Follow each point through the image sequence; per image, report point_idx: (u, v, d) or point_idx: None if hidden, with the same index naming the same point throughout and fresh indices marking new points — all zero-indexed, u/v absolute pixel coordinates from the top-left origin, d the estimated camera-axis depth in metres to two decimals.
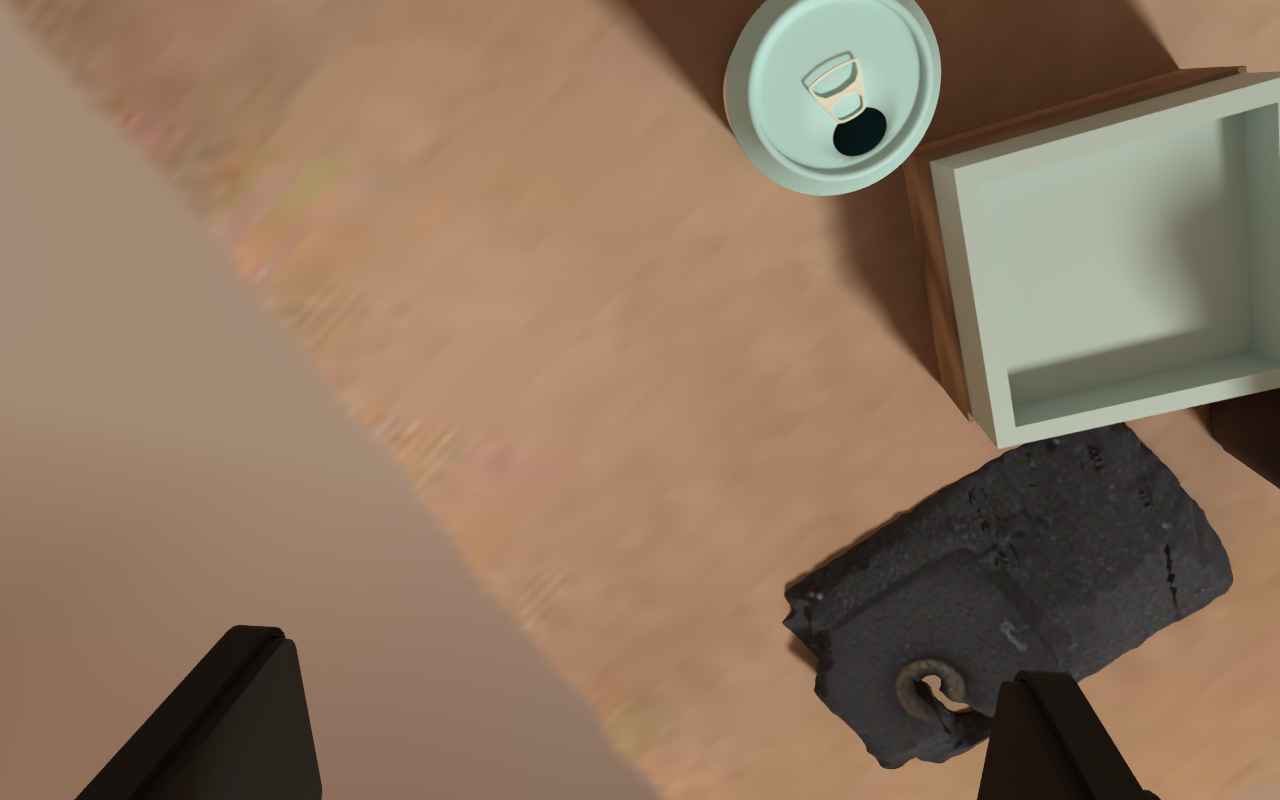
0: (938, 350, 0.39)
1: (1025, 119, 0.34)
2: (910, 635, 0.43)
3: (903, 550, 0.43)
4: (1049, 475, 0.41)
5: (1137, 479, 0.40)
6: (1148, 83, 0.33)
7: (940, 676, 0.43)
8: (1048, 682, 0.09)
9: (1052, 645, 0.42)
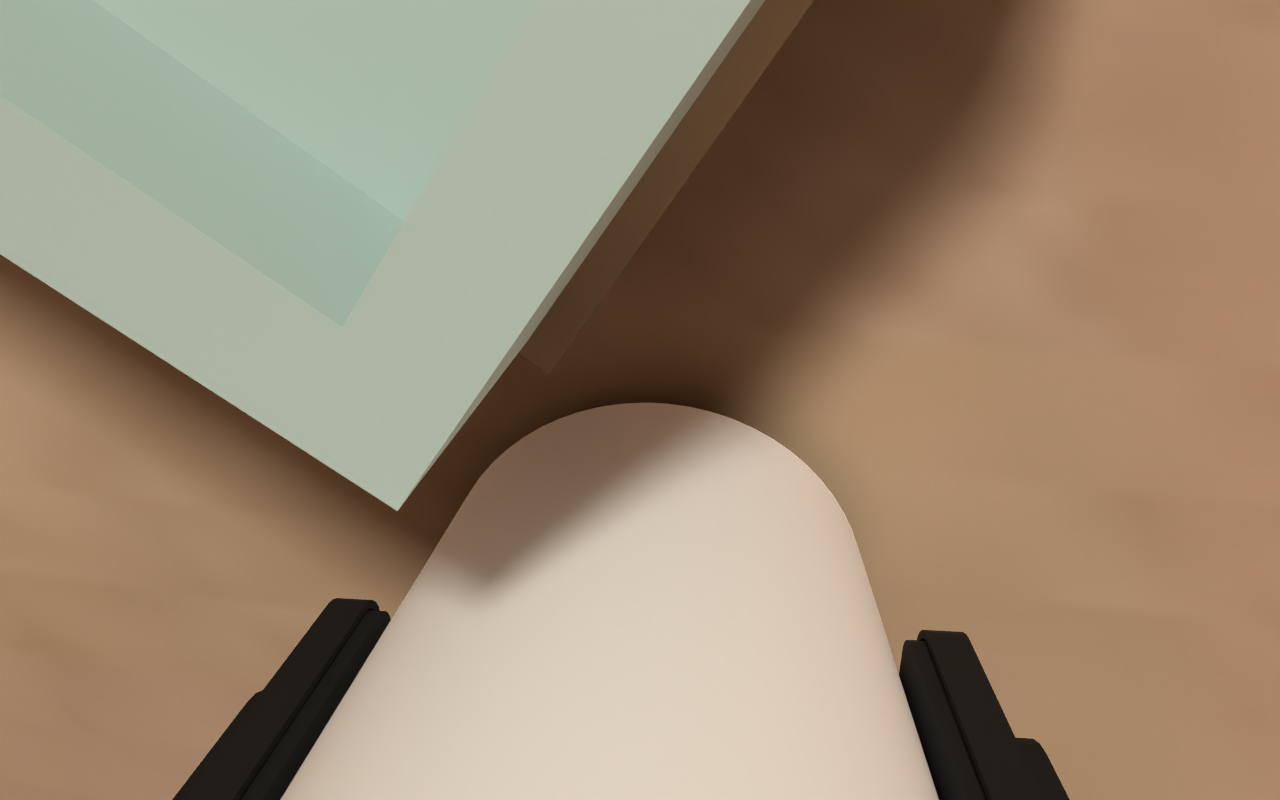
0: None
1: None
2: None
3: None
4: None
5: None
6: None
7: None
8: (943, 640, 0.10)
9: None
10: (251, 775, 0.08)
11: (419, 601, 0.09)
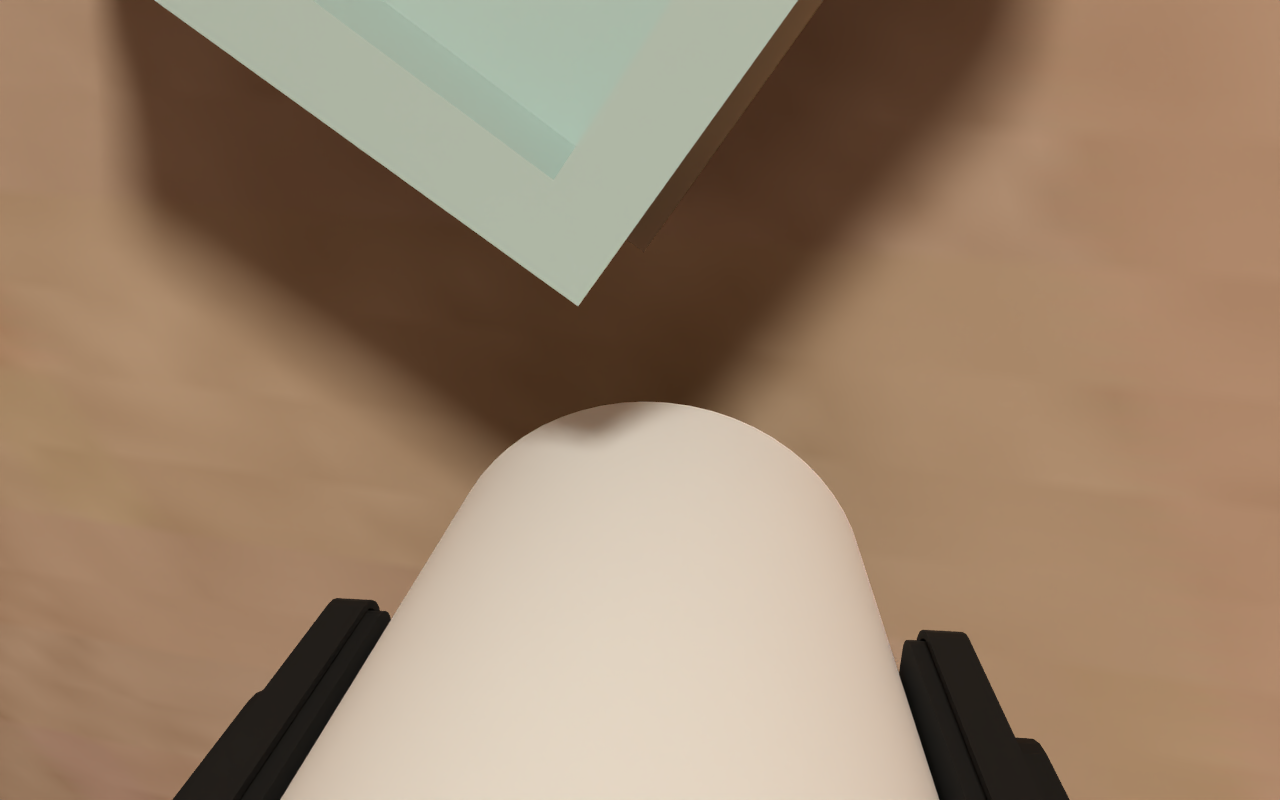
0: None
1: None
2: None
3: None
4: None
5: None
6: None
7: None
8: (943, 640, 0.10)
9: None
10: (251, 775, 0.08)
11: (420, 599, 0.09)
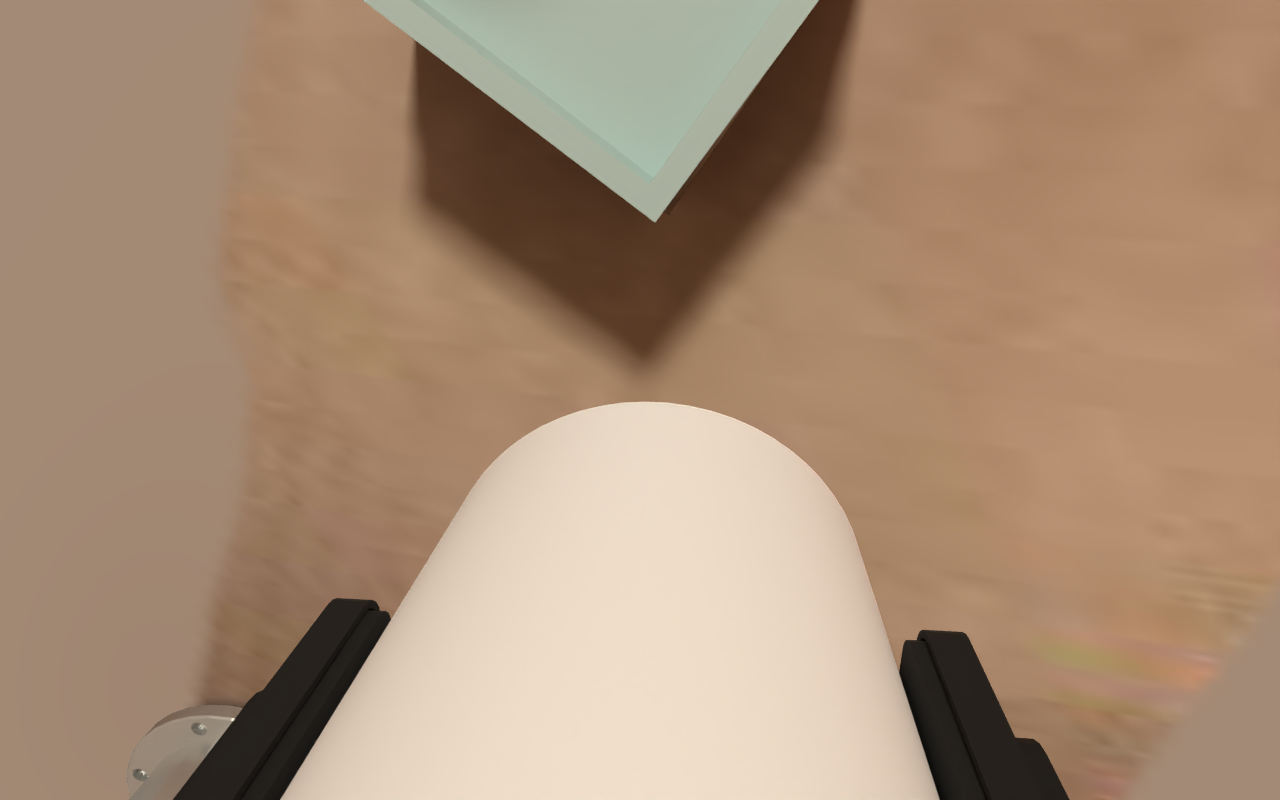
0: None
1: None
2: None
3: None
4: None
5: None
6: None
7: None
8: (943, 640, 0.10)
9: None
10: (251, 775, 0.08)
11: (420, 600, 0.09)
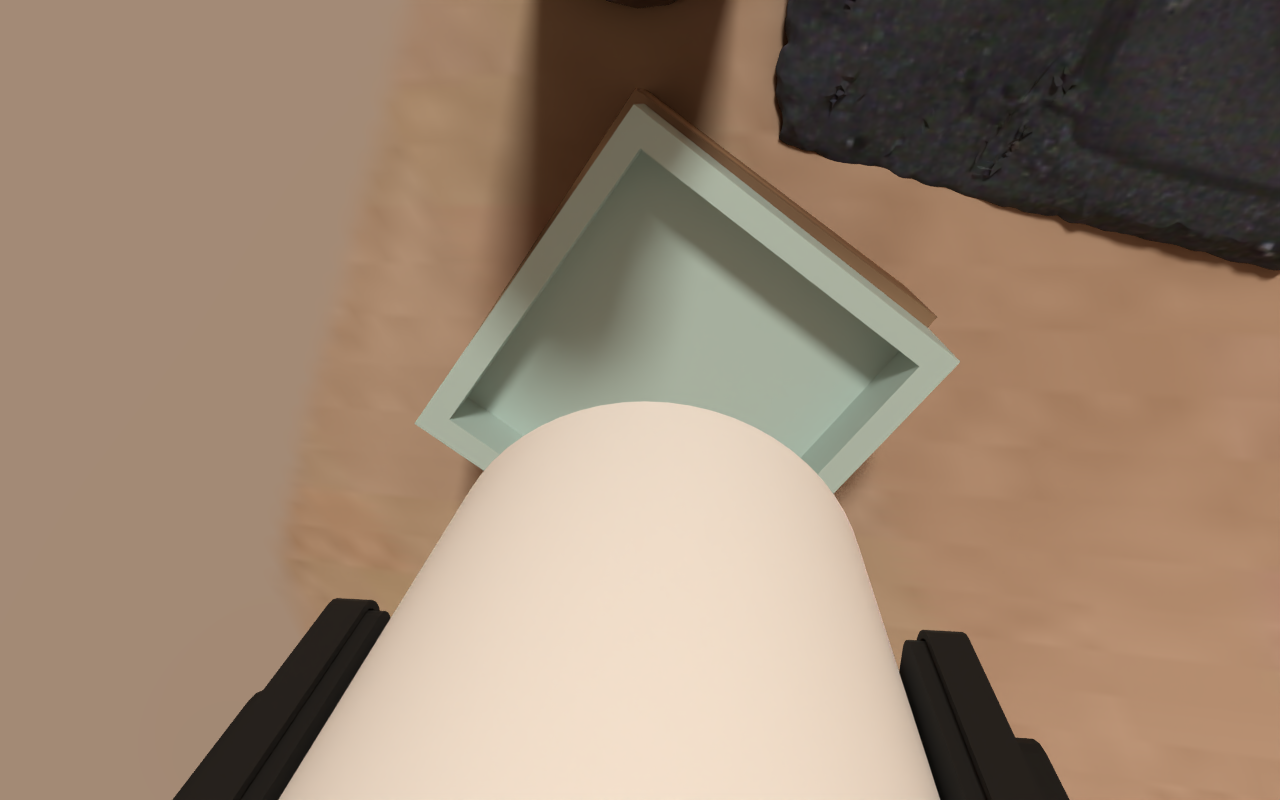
0: None
1: None
2: (1274, 105, 0.25)
3: (1123, 202, 0.27)
4: (898, 119, 0.27)
5: (833, 22, 0.26)
6: None
7: None
8: (943, 640, 0.10)
9: None
10: (251, 775, 0.08)
11: (418, 600, 0.09)
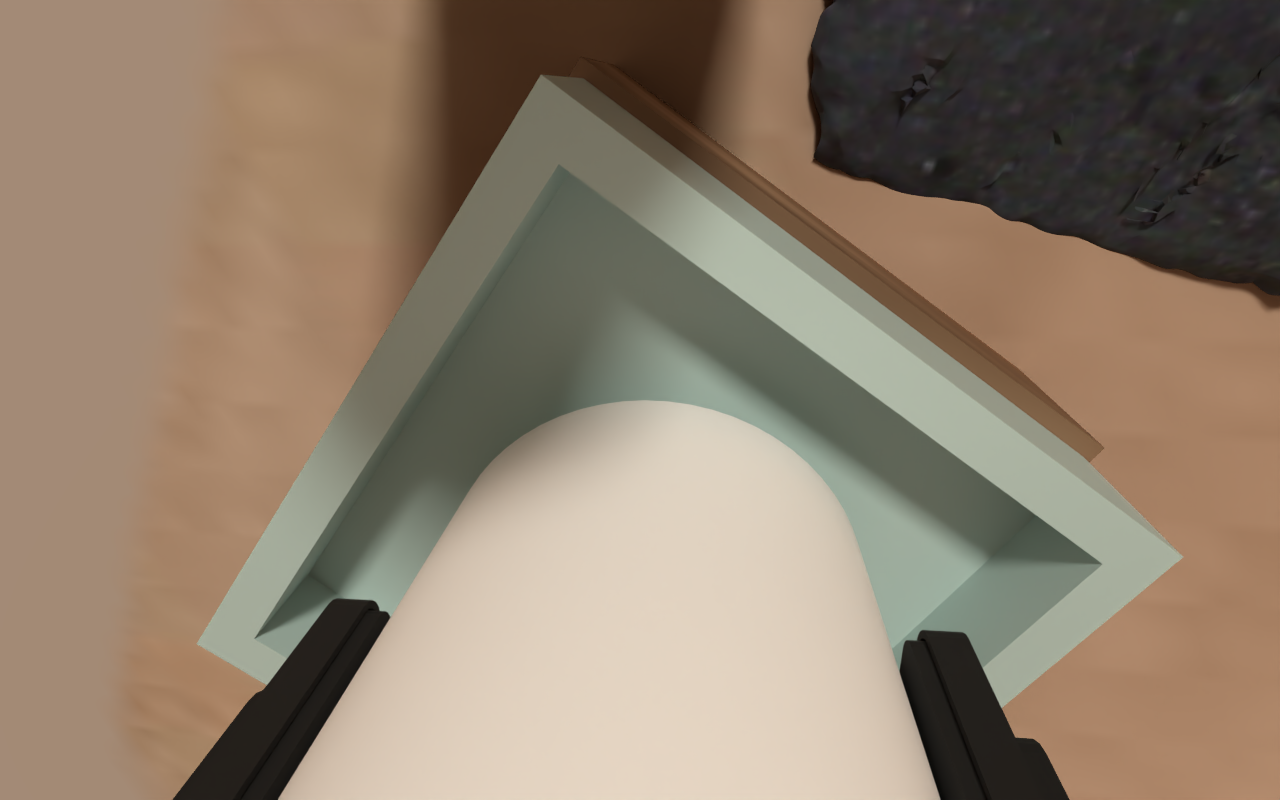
0: None
1: None
2: None
3: None
4: (1012, 131, 0.17)
5: None
6: None
7: None
8: (943, 640, 0.10)
9: None
10: (251, 775, 0.08)
11: (419, 598, 0.09)
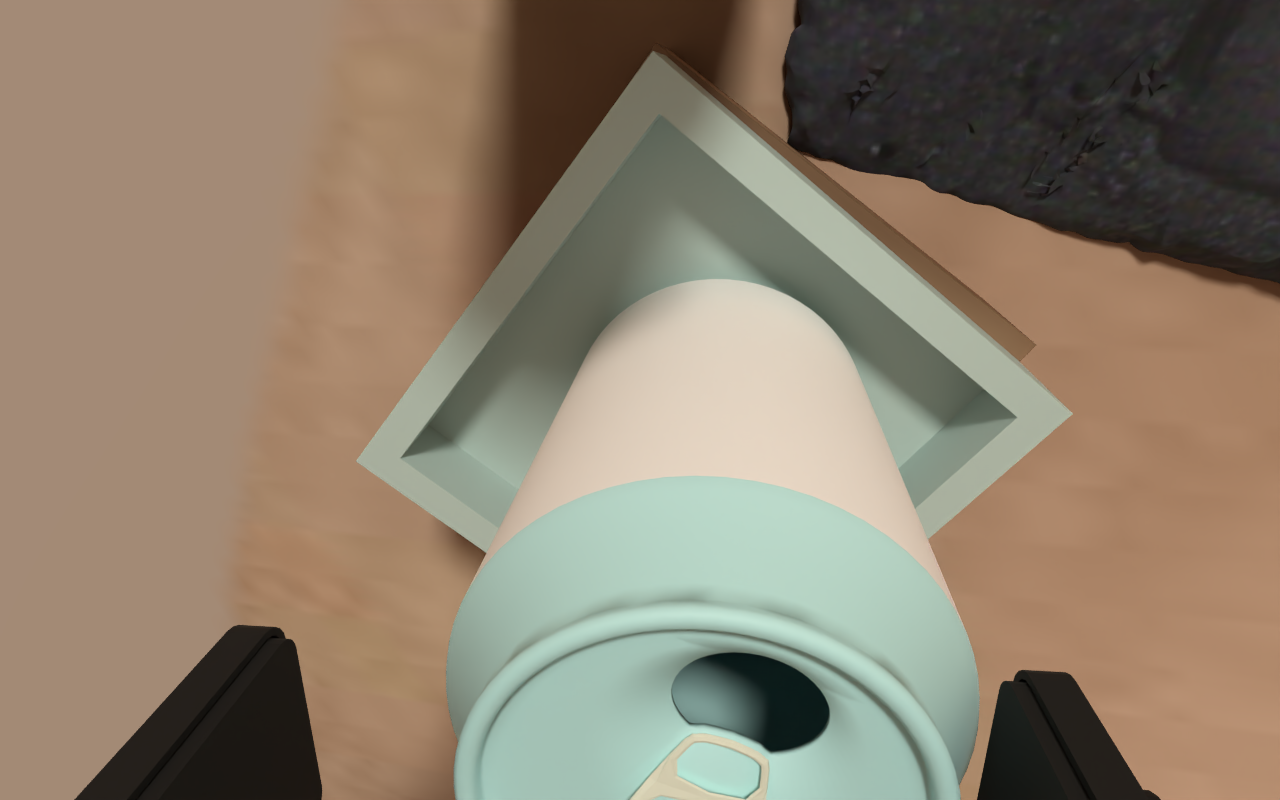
0: None
1: None
2: None
3: (1215, 230, 0.22)
4: (936, 123, 0.22)
5: None
6: None
7: None
8: (1048, 682, 0.09)
9: None
10: None
11: (589, 378, 0.15)
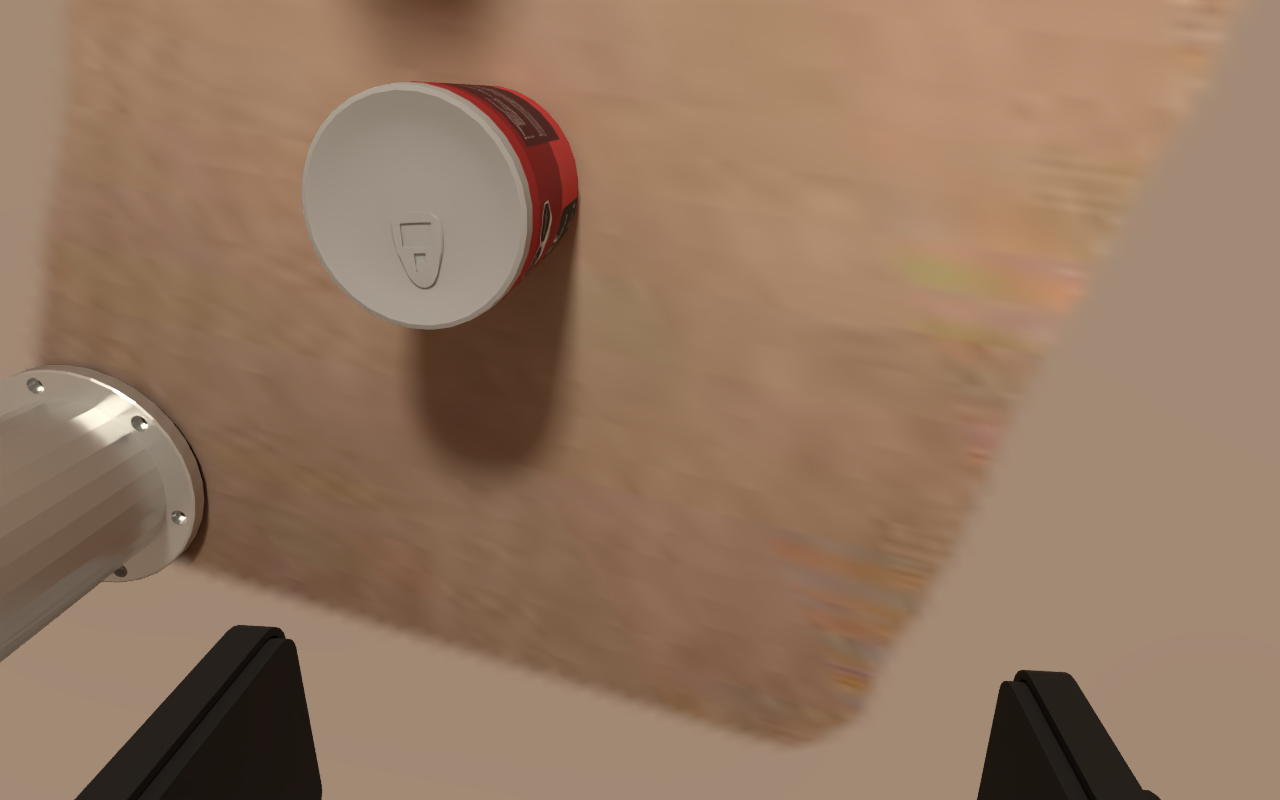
0: None
1: None
2: None
3: None
4: None
5: None
6: None
7: None
8: (1048, 682, 0.09)
9: None
10: None
11: None
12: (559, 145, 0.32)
